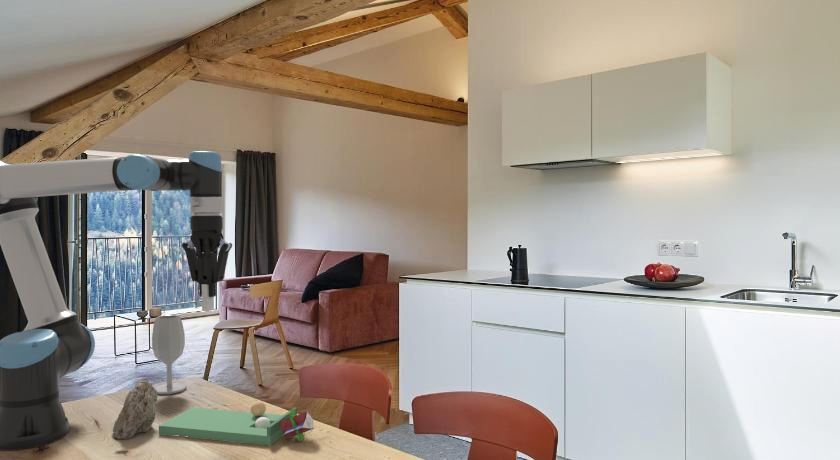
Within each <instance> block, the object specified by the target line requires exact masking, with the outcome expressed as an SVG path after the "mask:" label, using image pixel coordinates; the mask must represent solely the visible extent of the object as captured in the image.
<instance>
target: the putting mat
mask: <svg viewBox="0 0 840 460" xmlns="http://www.w3.org/2000/svg"><path fill="white" fill-rule="evenodd" d="M293 408H294V409H293ZM293 408H291V409H290V410H288V411H287V412H285V413H284V414H274V413H273V414H272V413H264V414H263V415H262V416H259V417H257V416H254V415H253V414H252V413H251V411H250V412H249V411H239V410H227V409H216V408H207V407H206V408H205V407H204V408H203V407H191V408H189V409H187V410H185V411H184V412H182V413H180V414H179V415H176V416H175V417H173V418H170V419H169V420H167V421H164V422H163V423H161V424H159V425H158V435H161V434H165V435H164V436H171V435H179V436H178V437H181V436H188V437H187V438H191V437H195V438H194V439H201V438H206V439H205V440H211V439H214V441H221V440H222V441H223V442H232V443H242V444H243V443H244V444H253V445H262V446H272V445H273V444H275V442H277V441H278V440H280V439H281V438H282V437H283V436H284V433H283V431H282V428H281V426H280V423H279V422H281V421H283V420H286V419H289V418H290V417H289V416H288V414H289V413H290V412H291V410H292V409H293V410H294V412H295V413H296V414H295V415H298V408H297V407H293ZM296 410H297V411H296ZM286 416H287V417H286ZM260 417H266V418H268V419H269V420H270V423H271V424H270V425H269V426H267V429H265V428H255V422H256V421H257V419H259V418H260ZM282 419H283V420H282Z"/></svg>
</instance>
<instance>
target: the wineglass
mask: <svg viewBox="0 0 840 460" xmlns="http://www.w3.org/2000/svg"><path fill="white" fill-rule="evenodd" d="M183 323H184V322H183V321H182V319H181V315H177V314H165V315H159V316H156V317H155V320H154V323H153V327H152V335H151V349H152V352H153V354H154V358H155V359H157V360H159V361H160V362H161V363H163V364H164V365H166V383H165V384H161V385H157V386H156V387H153V388H154V389H156V390H157V395H174V394H178V393H181V392H183V391H185V390H186V389H187V388H188V385H186V384H183V383H179V382H178V383H175V382H174V383H173V368H172V367H173V364H174V363H175V362H176V361H177V360H178V359H179V358H180V357H181V356H182V355H183V353H184V349H185V346H186V345H185V344H186V337H185V330H184V325H183Z"/></svg>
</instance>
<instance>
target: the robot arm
mask: <svg viewBox="0 0 840 460" xmlns="http://www.w3.org/2000/svg"><path fill="white" fill-rule="evenodd" d="M139 190H142V191H150V192H159V191H161V192H162V191H164V192H165V191H168V192H169V191H170V192H171V191H172V192H173V191H185V192H186V191H189V205H190V208H189V209H190V211H189V212H190V214H192V215H191V216H190V218H189V220H190V223H189V224H190V225H189V226H190V230H191V235H190V239H189V240H187V241H186V242H182V243H181V247H182V249H183V250H184V252H185V256H186V260H187V264H188V268H189V269H188V270H189V273H190V278H191V280H192V282H196V283H198V291H199V298H200V297H201V311H203V312H208V311H212V310H215V304H214V303H215V299H214V298H215V297H216V296H217V283H218V282H222V281H224V277H225V273H226V268H227V264H228V258H229V254H230V253H229V252H230V251H231V249H232V247H233V244H232V242H227V241H226V240H225V239H224V235H223V232H222V231H223V228H224V227H223V226H224V225H223V223H224V222H223V219H224V218H223V216H222V215H221V214H222V213H223V168H222V156H221V155H220V153H219V152H216V151H209V150H208V151H207V150H206V151H205V150H199V151H195V150H194V151H193V150H192V151H191V152H189V155H188V159H180V160H179V159H163V158H157V157H153V156H149V155H145V154H143V153H142V154H141V153H140V154H139V153H138V154H137V153H136V154H135V153H134V154H128V155H127V156H120V157H118V156H117V157H104V158H102V157H101V158H100V157H99V158H89V159H88V158H86V159H85V158H84V159H69V160H58V161H41V162H27V163H25V162H23V163H12V162H7V161H5V162H4V161H2V160H0V247H1V251H2V252H3V256H4V259H5V261H6V264H7V267H8V269H9V272H10V275H11V278H12V280H13V283H14V286H15V289H16V291H17V295H18V297H19V299H20V302H21V305H22V308H23V310H24V314H25V316H26V319H27V324H26V327H25V328H24V329H23V330H22V331H18V332H14V333H11V334H8V335H7V336H4V337H3V338H2V339H0V451H1V450H2V451H16V450H25V449H30V448H32V449H33V448H37V447H41V446H44V445H47V444H51V443H53V442H56V441H58V440H61V439H62V438H64V437H65V436H66V435H68V434H69V432H70V425H69V424H70V422H69V419H68V418H67V416H66V413H65V409H64V407H63V405H62V403H61V401H60V385H59V384H60V382H59V381H60V380H59V379H61V378H63V377H64V376H66V375H69V374H71V373H74V372H76V371H78V370H79V369H81V368H82V367H83V366H84V365H86V364H87V363H88V362H89V361H90V360H91V358H92V356H93V355H94V352H95V347H96V341H95V336H94V334H93V332H92V331H91V329H89V327H88V326H86V325H84V324H82V323H81V322H80V320H79V318H78V315H77V313H76V312H74V311H72V310H70V309H68V308H67V305H66V302H65V299H64V296H63V294H62V291H61V288H60V285H59V283H58V280H57V276H56V274H55V271H54V268H53V266H52V263H51V260H50V258H49V255H48V252H47V249H46V246H45V243H44V241H43V238H42V236H41V233H40V230H39V227H38V224H37V222H36V216H37V214H38V213H39V211H40V209H39V206H38V203H37V201H38V199H39V197H48V196H49V197H51V196H53V197H54V196H65V195H79V194H81V195H82V194H93V193H105V192H108V193H109V192H120V191H121V192H122V191H123V192H124V191H125V192H126V191H139Z"/></svg>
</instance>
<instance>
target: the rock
mask: <svg viewBox="0 0 840 460" xmlns="http://www.w3.org/2000/svg"><path fill="white" fill-rule="evenodd" d="M154 388H155V387H153V385H152V384H150V382H149V381H148V380H140V381H139V382H138V383H137V384H136V385H135V386H134V387H133V388H132V389H130V390H129V392H128V393H127V394H126V397H125V400H124V403H123V406H122V409H121V410H120V412H119V414H118V417H117V418H116V420H115V422H114V424H113V428H112V432H113V433H112V438H116V439H117V440H120V439H131V438H133V436H135V435H136V434H140V433H145V432H149V431H150V429H151V428H152V425H153V424H154V421H155V419H156V408H157V401H158V394H157V390H156V389H154Z"/></svg>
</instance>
